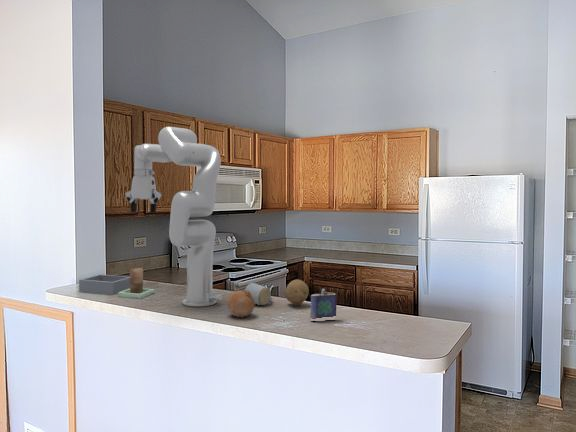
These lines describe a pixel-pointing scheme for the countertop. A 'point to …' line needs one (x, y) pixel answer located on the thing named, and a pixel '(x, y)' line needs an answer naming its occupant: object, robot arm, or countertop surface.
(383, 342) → the countertop surface
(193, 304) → the robot arm
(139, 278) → the walnut cylinder
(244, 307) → the onion
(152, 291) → the tray
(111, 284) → the deep bin
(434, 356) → the countertop surface
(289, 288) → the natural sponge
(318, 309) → the flask
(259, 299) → the ceramic mug
